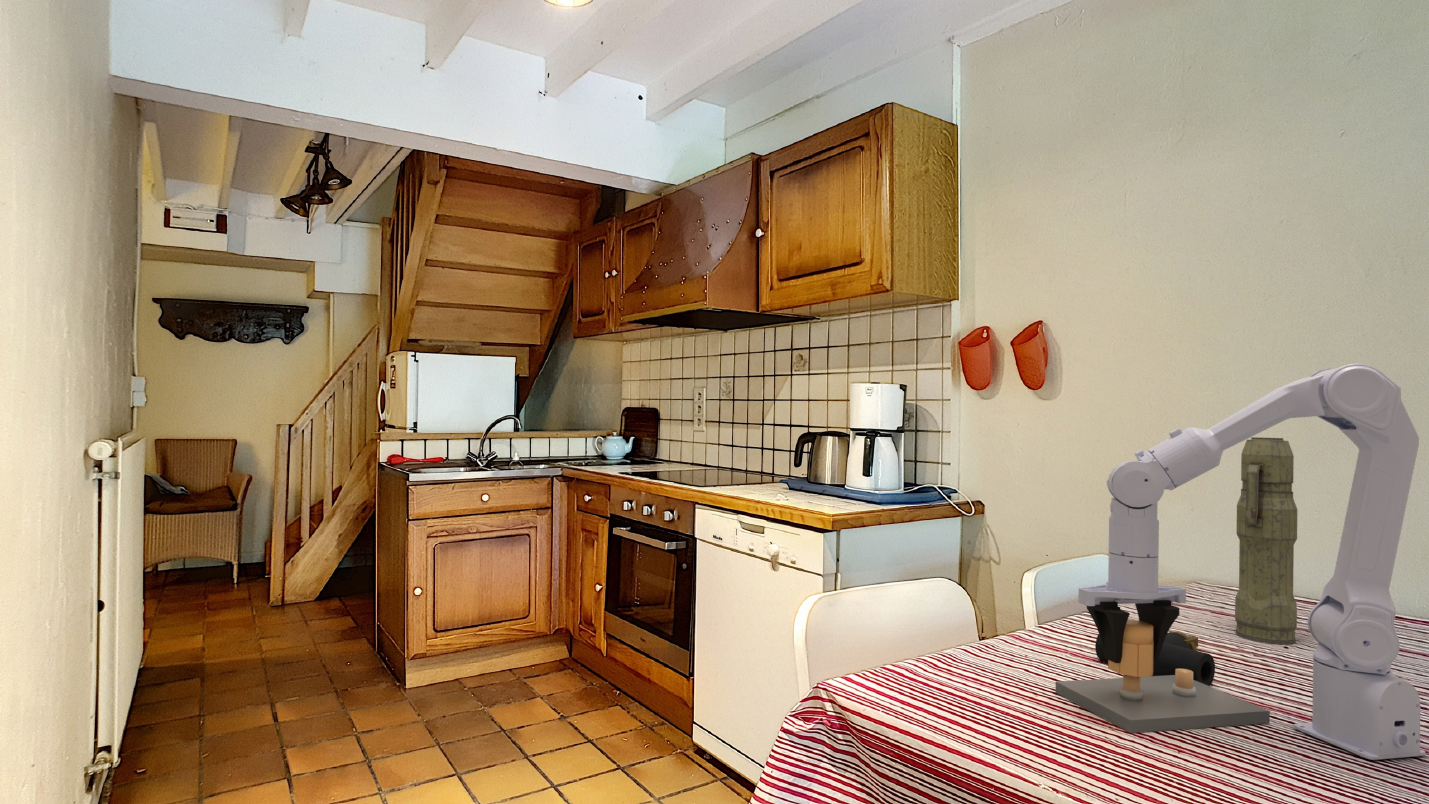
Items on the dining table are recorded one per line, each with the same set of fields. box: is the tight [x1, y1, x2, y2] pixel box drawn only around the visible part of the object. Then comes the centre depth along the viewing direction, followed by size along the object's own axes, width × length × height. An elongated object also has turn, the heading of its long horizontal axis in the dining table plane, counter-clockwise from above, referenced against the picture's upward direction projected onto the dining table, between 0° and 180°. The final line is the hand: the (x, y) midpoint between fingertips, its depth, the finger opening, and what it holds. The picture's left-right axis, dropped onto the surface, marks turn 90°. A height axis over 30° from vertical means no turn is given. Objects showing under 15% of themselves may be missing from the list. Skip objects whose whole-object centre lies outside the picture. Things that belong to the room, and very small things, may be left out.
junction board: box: [1055, 668, 1271, 734], centre depth 103 cm, size 14×20×4 cm
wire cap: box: [1107, 618, 1154, 677], centre depth 103 cm, size 5×5×6 cm
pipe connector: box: [1094, 631, 1216, 687], centre depth 120 cm, size 12×5×15 cm
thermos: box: [1234, 436, 1298, 646], centre depth 140 cm, size 9×12×35 cm
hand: (1131, 659), depth 103 cm, fingers closed on wire cap, 5 cm apart
